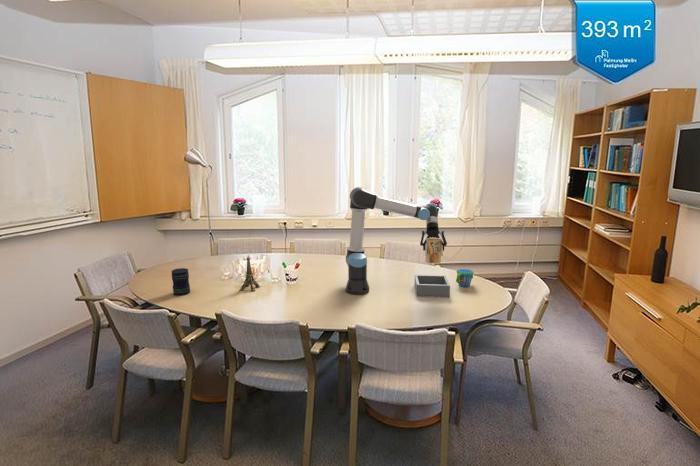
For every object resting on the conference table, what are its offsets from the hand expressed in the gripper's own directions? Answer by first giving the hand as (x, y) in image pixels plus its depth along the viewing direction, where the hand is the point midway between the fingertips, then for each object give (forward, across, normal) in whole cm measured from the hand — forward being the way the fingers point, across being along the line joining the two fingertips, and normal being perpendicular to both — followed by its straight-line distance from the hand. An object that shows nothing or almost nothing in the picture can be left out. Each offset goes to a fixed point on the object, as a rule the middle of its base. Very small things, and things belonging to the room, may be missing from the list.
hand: (434, 254), depth 255 cm
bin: (+15, 0, -20) cm, 25 cm away
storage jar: (+27, +158, -8) cm, 160 cm away
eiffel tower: (+19, +118, -16) cm, 120 cm away
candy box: (+2, 0, -6) cm, 7 cm away
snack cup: (+6, -22, -29) cm, 37 cm away
